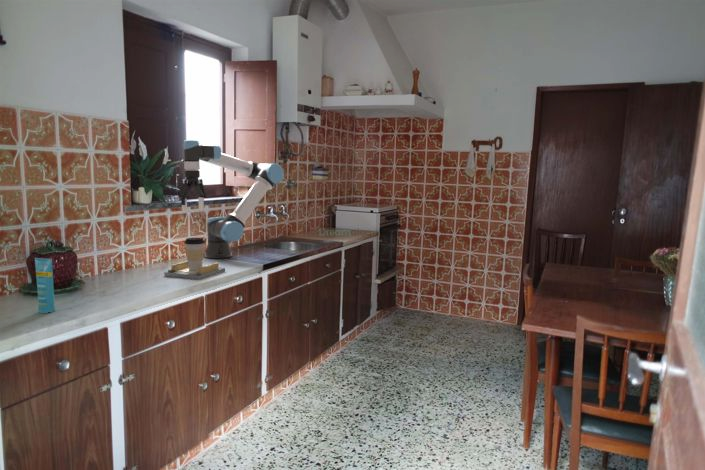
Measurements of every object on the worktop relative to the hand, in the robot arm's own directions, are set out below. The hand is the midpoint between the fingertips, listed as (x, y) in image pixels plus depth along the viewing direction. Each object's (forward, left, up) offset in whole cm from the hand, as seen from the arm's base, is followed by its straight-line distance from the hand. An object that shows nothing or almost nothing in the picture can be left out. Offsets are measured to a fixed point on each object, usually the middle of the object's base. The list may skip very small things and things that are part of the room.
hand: (193, 210), depth 257 cm
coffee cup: (+21, +17, -27) cm, 38 cm away
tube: (+93, +10, -29) cm, 98 cm away
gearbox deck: (+21, +17, -29) cm, 39 cm away
